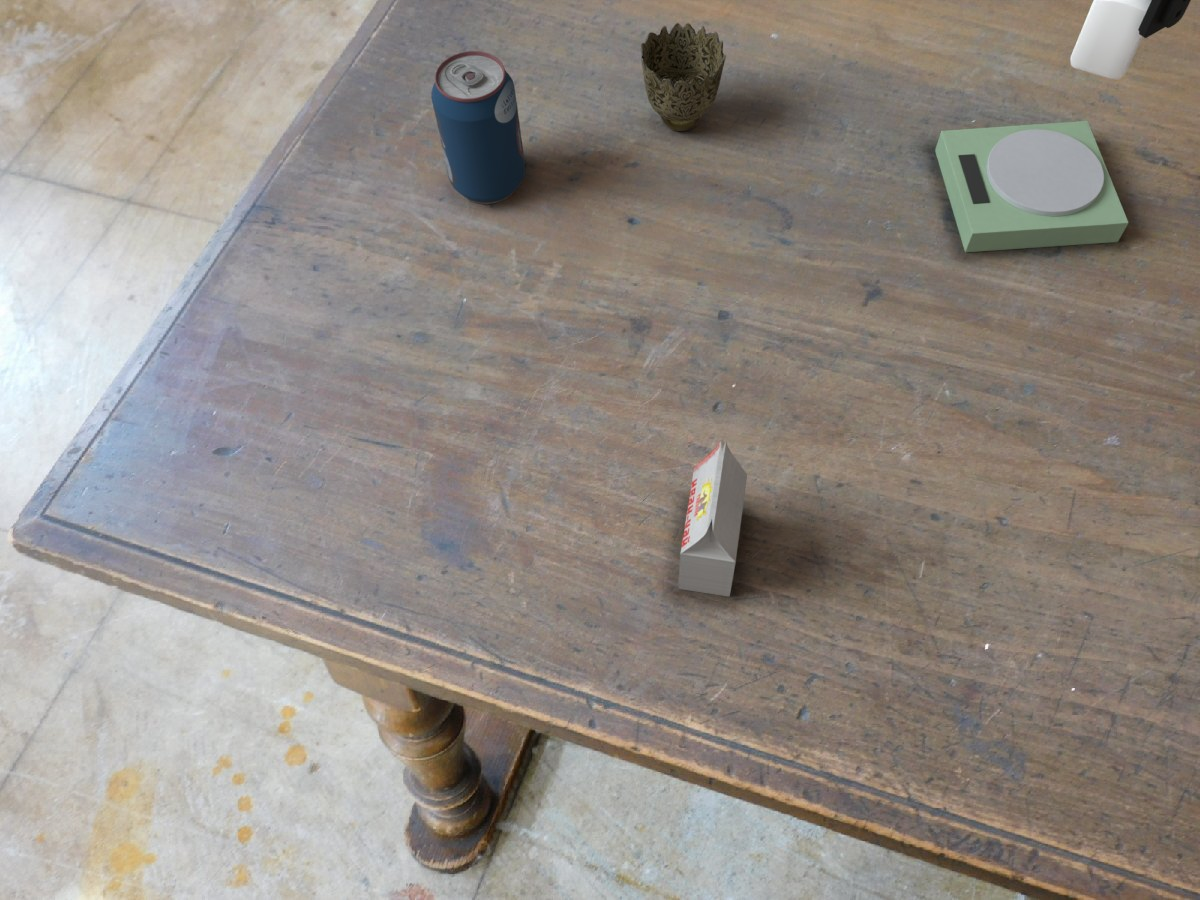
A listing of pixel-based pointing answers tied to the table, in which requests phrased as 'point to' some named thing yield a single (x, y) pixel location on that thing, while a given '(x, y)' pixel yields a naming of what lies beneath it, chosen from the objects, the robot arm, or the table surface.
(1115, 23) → the pepper shaker
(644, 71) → the cup
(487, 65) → the soda can
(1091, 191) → the kitchen scale
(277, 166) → the table surface
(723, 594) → the grey upright carton
